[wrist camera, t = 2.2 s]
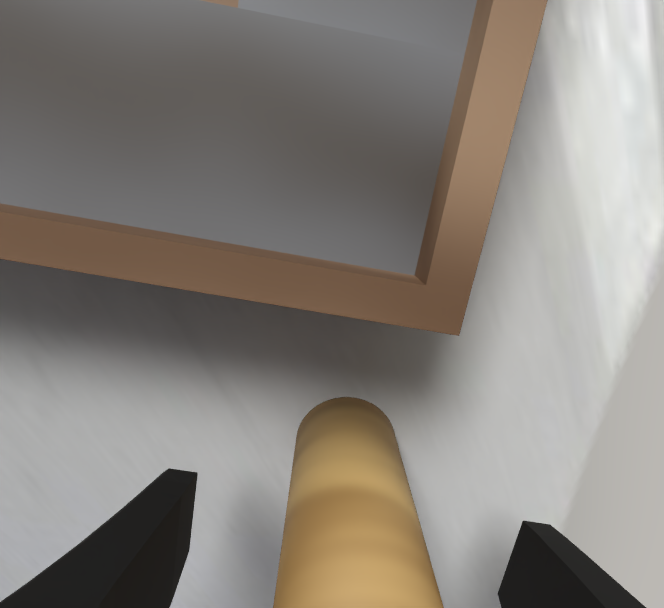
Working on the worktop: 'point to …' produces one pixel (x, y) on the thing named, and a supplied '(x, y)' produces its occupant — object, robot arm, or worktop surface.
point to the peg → (351, 517)
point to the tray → (263, 145)
